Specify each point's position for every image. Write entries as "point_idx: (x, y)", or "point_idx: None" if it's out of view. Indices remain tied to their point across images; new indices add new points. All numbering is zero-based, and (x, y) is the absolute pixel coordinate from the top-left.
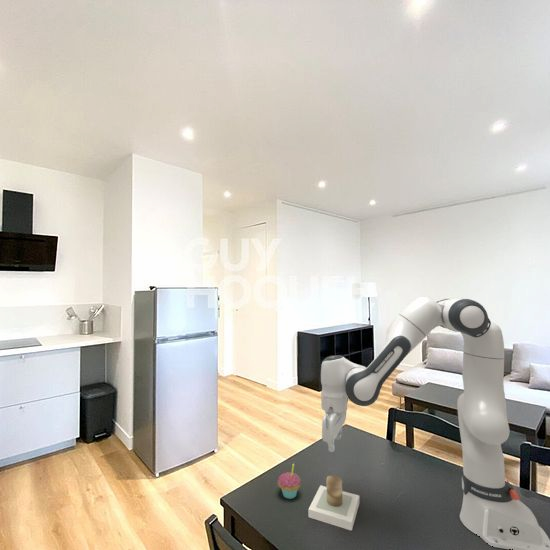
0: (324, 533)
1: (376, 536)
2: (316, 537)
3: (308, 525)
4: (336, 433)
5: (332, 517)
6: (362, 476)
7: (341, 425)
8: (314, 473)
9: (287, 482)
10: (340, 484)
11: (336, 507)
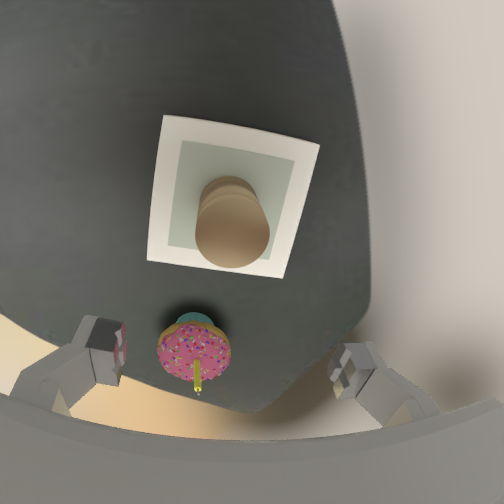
0: (332, 218)
1: (319, 72)
2: (347, 236)
3: (308, 261)
4: (447, 445)
5: (302, 205)
6: (22, 123)
7: (145, 468)
8: (65, 278)
9: (223, 362)
10: (253, 203)
11: (259, 195)
